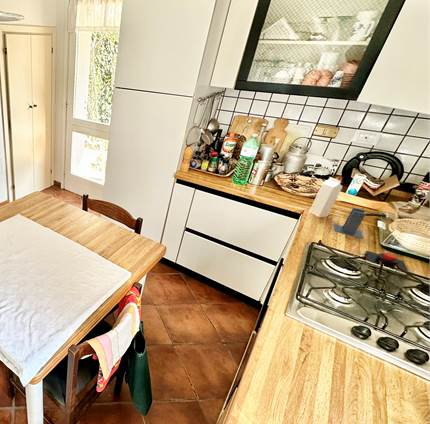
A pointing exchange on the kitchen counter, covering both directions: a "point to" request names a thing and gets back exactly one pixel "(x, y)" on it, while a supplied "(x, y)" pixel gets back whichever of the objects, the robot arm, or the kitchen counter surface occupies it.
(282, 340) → the kitchen counter surface
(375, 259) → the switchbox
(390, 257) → the button
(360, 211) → the lever
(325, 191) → the milk
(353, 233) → the bracket
